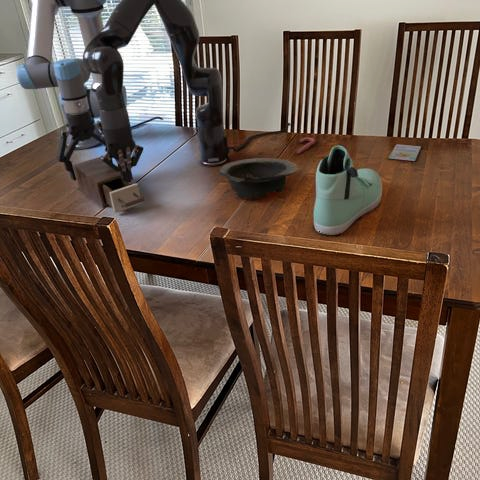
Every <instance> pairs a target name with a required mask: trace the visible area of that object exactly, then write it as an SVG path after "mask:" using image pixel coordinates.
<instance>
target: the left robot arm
mask: <svg viewBox="0 0 480 480" xmlns="http://www.w3.org/2000/svg"><path fill="white" fill-rule="evenodd" d="M106 3H107V0H28V5H29V8H30V9H31V12H30V23H29V32H28V33H29V34H28V44H27V53H26V63H25V64H20V65H18V66H17V67H16V78H17V81H18V83H19V85H20V86H21V88H22V89H24V90H39V89H48V88H58V90H59V94H58V99H59V105H60V108H61V113H62V116H63V119H64V123H65V126H66V130H59V135H60V139H59V145H58V150H57V154H56V160H57V162H59V163H63V165H64V168H65V170H66V171H67V172H68V173H69V175H70V178H71V180H72V181H74V182H75V181H77V178H76V175H75V171H74V167H73V162H72V161H71V158H72V155H73V153H74V151H75V150H85V149H92V148H94V147H97V146H99V145H103V146H105V147H106V142H105V139H104V134H103V129H102V125H101V120H97V121H95V119H100V113H99V107H98V102H97V98H96V87H97V86H99V85H101V84H102V75H101V74H94V73H91V72H89V71H88V70H87V69H86V68H85V67H84V64H83V58H78V57H76V58H63V59H59V60H56V61H54V62H52V59H53V58H52V57H53V46H54V33H55V21H56V15H58V13H59V10H60V8H68V7H69V8H70V11H71V13H72V14H73V15H74V16H75V17H77V21H78V25H79V30H80V35H81V37H82V42H83V46H84V49H85V48H86V46H87V45H88V44H89V42H90V41H91V40H92V39H93V38H94V37H95V36H96V35H97V34H98V33H99V32H100V31H101V30H102V29H103V28H104V27H105V25H104V21H103V18H102V17H103V16H102V12H103V11H104V10H105V6H104V5H105V4H106ZM90 78H92V82H91V84H90V88H88V86H87V85H86V83H87V82H88V81H89V79H90ZM123 95H124V100H125V105H126V109H127V110H128V96H127V89H126V86H125V85H123ZM154 120H155V121H156V120H160V121H164V120H165V119H164V118H163V117H161V116H153V117H152V118H149V119H147V120H143V121H141V122H139V123H136V124H134V125H130V126H131V130H132V129H135V128H138V127H140V126H142V125H144V124H148V123H150V122H152V121H154ZM105 152H106V150H105V149H104V153H105ZM109 157H110V158H111V160H110V161H111V162H112V163H113V164H114V161H113V159H114V158H113V157H112V156H110V155H109Z"/></svg>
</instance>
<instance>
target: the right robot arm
mask: <svg viewBox="0 0 480 480" xmlns="http://www.w3.org/2000/svg"><path fill="white" fill-rule="evenodd" d="M153 6H154V7H155V9H156V10H157V13H158V15H159V17H160V19H161V21H162V24H163V27H164V30H165V32H166V34H167V37H168V39H169V41H170V43H171V45H172V47H173V50H174V52H175V54H176V57H177V59H178V62H179V64H180V67H181V71H182V73H183V77H184V80H185V84H186V86H187V89H188V91H189V92H190V94H191V95H193V96H194V97H195V96H196V97H207V98H208V102H207V103H204V104H201V105H199V106H198V107H196V110H195V116H196V124H197V132H198V133H197V134H198V141H199V150H200V160H201V164H202V165H204V166H207V167H217V166H221V165H225V164H226V163H227V162H228V161H230V158H229V157H230V156H229V154H230V152H231V151H230V150H233V151H234V152H238V151H240V150H241V149H242V148H243V147H245V146H246V145H247V144H248V142H249V141H250V140H251V139H254V138H256V137H263V136H266V135H271V134H281V133H284V132H286V131H287V130H288V129H289V126H292V125H291V122H287V124H286V126H285V128H284V129H281V130H274V131H269V132H268V131H267V132H262V133H258V134H254V135H251V136H248V138H247V139H246V140H245V142H244V143H243V144H242V145H240V146H239V147H236V148H235V147H234V146H229V145H228V137H227V135H226V134H225V126H224V116H223V115H224V113H223V105H224V104H223V101H224V100H223V79H222V76H221V75H222V74H221V72H220V70H219V69H218V68H216V67H199V66H198V65H197V63H196V60H195V55H196V51H197V48H198V46H199V43H200V31H199V27H198V25H197V22H196V20H195V16H194V15H193V13H192V11H191V10H190V8H189V7H188V6H187V4H185V2H184V1H183V0H121V1H119V3H118V4H116V7H114V9H113V11H112V12H111V14H110V15H109V18H108V19H107V21H106V23H105V25H104V28H103V29H102V30H101V31H100V32H99V33H98V34H97V35H96V36H95V37H94V38H93V39H92V40H91V41H90V42H89V44H88V45H87V46H86V48H85V47H84V50H83V53H82V59H83V64H84V67H85V68H86V69H87V70H88V71H89V72H91V73H94V74H101V75H102V84H101V85H99V86H97V87H96V98H97V102H98V107H99V113H100V118H99V121H100V122H101V125H102V129H103V134H104V135H103V139H104V141H105V142H106V146H105V148H104V154H102V155H100V156H99V157H100V160H102V161H103V162H104V163H106V164H107V165H108V166H110V167H111V168H112V169H114V170H115V171H117V172H119V171H120V174H121V179H122V181H124V182H125V183H130V182H131V183H133V182H132V180H133V173H132V169H133V167H137V165H138V163H139V161H140V158H141V156H142V154H143V152H144V147H143V146H141V145H139V144H136V142H135V140H134V137H133V132H132V129H131V126H132V125H131V121H130V116H129V112H128V108H127V109H126V105H125V100H124V95H123V86H124V72H125V71H124V69H125V65H124V59H123V57H122V55H121V53H120V51H119V49H122V48H125V47H127V46H129V43H130V42H131V40H132V39H133V37H134V35H135V33H136V32H137V30H138V28H139V26H140V25H141V23H142V21H143V20H144V18H145V17H146V16H147V14H148V13H149V11H150V10H151V8H152V7H153ZM105 150H106V152H105ZM109 155H110V156H112V157H113V158H112V159H114V160H115V162H116V164H115V163H114V162H113V163H112V162H111V161H110V160H111V158H110V157H109Z"/></svg>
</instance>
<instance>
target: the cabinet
mask: <svg viewBox="0 0 480 480" xmlns="http://www.w3.org/2000/svg"><path fill="white" fill-rule="evenodd" d="M72 166H73V169H74V173H75V177H76V182H77V186H78V188H79V190H81V192H83V193H85V194H86V195H87V196H88V197H89V198H90V199H92V200H93V201H95V202H96V203H97V204H98V205H99V206H100V207H102V208H106V207H108V206H109V205H108V204H107V203H106V202H105V201H104V199H103V195H102V191H101V187H100V184H103V183H106V182H109V181H112V180H115V179H118V178H121V174H120V171H119V172H117V171H115V170H114V169H112V168H111V167H110V166H108V165H107V164H106V163H104V162H103V161H102V160H100V156H99V157H94V158H92V159H87V160H86V161H82V162H78V163H75V164H72Z"/></svg>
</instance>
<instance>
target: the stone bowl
mask: <svg viewBox="0 0 480 480" xmlns="http://www.w3.org/2000/svg"><path fill="white" fill-rule="evenodd" d="M298 170H299V169H298V167H297V166H296V164H295V163H293V162H291V161H289V160H287V159H281V158H272V157H271V158H269V157H255V158H243V159H239V160H235V161H232V162H231V161H230V162H228V163H224V164H222V166H221V168H220V169H219V170H217V173H219V174H220V175H221V176H223V177H224V178H226V179H227V180H228V182H229V186H230V188H231V190H232V191H234V192H235V193H236V196H237V198H239V199H241V200H243V199H245V200H251V201H252V200H255V199H257V200H262V199H264V198H266V197H267V196H268V193H269V194H273V193H281V192H282V191H284V190H285V189H284V188H285V185H286V183H287V182H286V181H287V177H289V176H290V175H292V174H294V173H296V172H297V171H298Z"/></svg>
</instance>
